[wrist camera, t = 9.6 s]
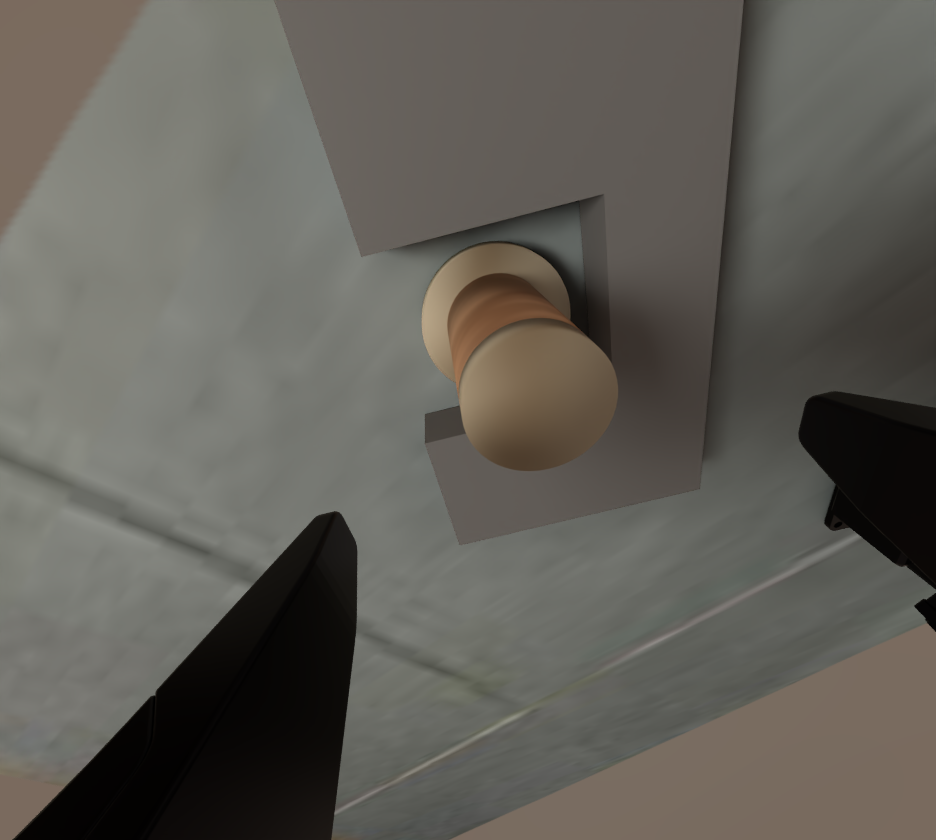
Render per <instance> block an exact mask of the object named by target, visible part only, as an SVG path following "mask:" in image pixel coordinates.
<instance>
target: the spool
mask: <svg viewBox="0 0 936 840" xmlns="http://www.w3.org/2000/svg"><path fill="white" fill-rule="evenodd" d="M570 318H571V313H570V302H569V296H568V293H567V290H566V287H565V285H564V283H563V281H562V279H561V277H560V276H559V274H558V273H557V271H556V270H555V269H554V268H553V267H552V266H551V264H550V263H548V262H547V261H546V260H545V259H544V258H542V257H541V256H539V255H538V254H536V253H534V252H533V251H531V250H529V249H528V248H525V247H523V246H521V245H518V244H514V243H510V242H503V241H489V242H483V243H478V244H475V245H472V246H469V247H467V248H465V249H463V250H461V251H459V252H458V253H456V254H455V255H453V256H452V257H451V258H449V259H448V260H447V261H446V262H445V263H444V264H443V265H442V266H441V267H440V269H439V270H438V271H437V272H436V274H435V275H434V277H433V278H432V280H431V282H430V284H429V286H428V288H427V291H426V294H425V297H424V302H423V307H422V332H423V338H424V342H425V346H426V348H427V351H428V353H429V355H430V357H431V359H432V361H433V362H434V363H435V365H436V366H437V368H438V369H439V370H440V371H441V372H442V373H443V374H444V375H445V376H447V377H448V378H449V379H450V380H452V381H453V382H455V383H456V385H457V391H458V397H459V403H460V410H461V416H462V421H463V426H464V429H465V432H466V435H467V436H468V438H469V440H470V442H471V443H472V445H473V446H474V447H475V449H476V450H477V451H478V452H479V453H480V454H481V455H483V456H484V457H485V458H487V459H488V460H490V461H491V462H493V463H495V464H497V465H499V466H502V467H505V468H508V469H512V470H519V471H540V470H546V469H551V468H554V467H557V466H560V465H563V464H565V463H568V462H570V461H571V460H573V459H575V458H577V457H578V456H580V455H581V454H583V453H584V452H586V451H587V450H588V449H589V448H591V447H592V446H593V445H594V444H595V443H596V442H597V441H598V440H599V438H600V437H601V436H602V435H603V433H604V432H605V430H606V429H607V427H608V426H609V424H610V422H611V420H612V417H613V415H614V412H615V409H616V405H617V400H618V383H617V377H616V373H615V370H614V368H613V366H612V364H611V362H610V360H609V359H608V357H607V356H606V354H605V353H604V352H603V351H602V350H601V349H600V348H599V347H598V346H597V345H596V344H595V343H594V342H593V341H592V340H590V339H589V338H588V337H587V336H586V335H585V334H584V333H583V332H582V331H581V330H580V329H579V328H577V327H576V326H575V325H574V324H573V323H572V322H571V321H570Z"/></svg>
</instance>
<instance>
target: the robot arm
mask: <svg viewBox="0 0 936 840" xmlns="http://www.w3.org/2000/svg"><path fill="white" fill-rule="evenodd" d="M799 440H800V442H801V444H802V446H803V447H804V448H805V450H806V451H807V452H808V453H809V454H810V455H811V456H812V458H813V459H814V460H815V461H816V462H817V463H818V465H819V466H820V467H821V468H822V469H823V470H824V471H825V473H826V474H827V475H828V476H829V477H830V478H831V479H832V481H833V482H834V483H835V484H836V487H835V490H834V494H833V497H832V500H831V503H830V506H829V510H828V513H827V516H826V519H825V525H826V526H827V527H828V528H829V529H830V530H833V531H836V530H840V529H845V528H849V527H850V528H851V529H852V530H853V531H855V532H856V533H857V534H858V535H860V536H861V537H862V538H863V539H865V540H866V541H867V542H868V543H870V544H871V545H872V546H873V547H875V548H876V549H877V550H878V551H880V552H881V553H882V554H883V555H885V556H886V557H887V558H888V559H890V560H891V561H892V562H893V563H895V564H896V565H898V566H901V567H903V566H907V567H908V568H909V569H910V570H912V571H913V572H914V573H916V574H917V575H918V576H919V577H921V578H922V579H923V580H924V581H926V582H927V583H928V584H929V585H931V586H932V587H933V588H935V589H936V408H934V407H928V406H922V405H916V404H910V403H904V402H898V401H892V400H886V399H880V398H874V397H868V396H862V395H856V394H850V393H844V392H838V391H834V392H828V393H823V394H819V395H815V396H812V397H811V398H809V399H808V400H807V402H806V404H805V407H804V411H803V416H802V420H801V424H800V428H799ZM914 607H915V608H916V609H917V610H918V611H919V612H920V613H921V614H922V615H923V616H924V617H925V618H926V619H925V620H926V621H927V623H928V624H929V625H930V626H931V627H932V628H933V629H934V630H935V632H936V593H935V594H934V595H932V596H931V597H929V598H928V599H927V600H926V599H922V600H921V601H920V602H918V603H917V604H916V605H914ZM356 623H357V545H356V542H355V539H354V537H353V535H352V533H351V531H350V529H349V528H348V526H347V524H346V522H345V520H344V518H343V516H342V515H341V514H340V513H339V512H336V511H334V512H330V513H326V514H321V515H318V516H316V517H315V518H314V519H313V520H312V521H311V522H310V524H309V525H308V526H307V527H306V528H305V529H304V530H303V531H302V532H301V533H300V534H299V535H298V537H297V538H296V539H295V540H294V541H293V542H292V543H291V544H290V545H289V546H288V547H287V549H286V550H285V551H284V552H283V553H282V554H281V555H280V556H279V557H278V558H277V559H276V561H275V562H274V563H273V564H272V565H271V566H270V567H269V568H268V569H267V570H266V571H265V573H264V574H263V575H262V576H261V577H260V578H259V579H258V580H257V581H256V582H255V583H254V585H253V586H252V587H251V588H250V589H249V590H248V591H247V592H246V593H245V594H244V595H243V597H242V598H241V599H240V600H239V601H238V602H237V603H236V604H235V605H234V606H233V607H232V609H231V610H230V611H229V612H228V613H227V614H226V615H225V616H224V617H223V618H222V619H221V620H220V622H219V623H218V624H217V625H216V626H215V627H214V628H213V629H212V630H211V631H210V632H209V634H208V635H207V636H206V637H205V638H204V639H203V640H202V641H201V642H200V643H199V644H198V645H197V647H196V648H195V649H194V650H193V651H192V652H191V653H190V654H189V655H188V656H187V657H186V659H185V660H184V661H183V662H182V663H181V664H180V665H179V666H178V667H177V668H176V669H175V671H174V672H173V673H172V674H171V675H170V676H169V677H168V678H167V679H166V680H165V681H164V682H163V684H162V685H161V686H160V687H159V688H158V689H157V690H156V694H155V695H154V696H151V697H150V698H149V699H148V700H147V701H146V702H145V703H144V704H143V705H142V706H141V707H140V709H139V710H138V711H137V712H136V713H135V714H134V715H133V716H132V717H131V718H130V719H129V720H128V722H127V723H126V724H125V725H124V726H123V727H122V728H121V729H120V730H119V731H118V732H117V733H116V734H115V735H114V736H113V738H112V739H111V740H110V741H109V742H108V743H107V744H106V745H105V746H104V747H103V748H102V749H101V750H100V751H99V752H98V753H97V755H96V756H95V757H94V758H93V759H92V760H91V761H90V762H89V763H88V764H87V765H86V766H85V767H84V768H83V769H82V770H81V771H80V772H79V773H78V774H77V775H76V776H75V777H74V778H73V779H72V780H71V781H70V782H69V783H68V784H67V785H66V786H65V788H64V789H63V790H62V791H61V792H60V793H59V794H58V795H57V796H56V797H55V798H54V799H53V800H52V801H51V802H50V803H49V804H48V805H47V806H46V807H45V808H44V809H43V810H42V811H41V812H40V813H39V814H38V815H37V816H36V817H35V818H34V819H33V820H32V821H31V822H30V823H29V824H28V825H27V826H26V827H25V828H24V829H23V830H22V831H21V832H20V833H19V834H18V835H17V836H16V837H15V838H14V839H13V840H331V837H332V829H333V821H334V812H335V804H336V796H337V787H338V779H339V771H340V762H341V754H342V746H343V737H344V729H345V721H346V712H347V704H348V696H349V687H350V679H351V671H352V662H353V654H354V646H355V636H356Z"/></svg>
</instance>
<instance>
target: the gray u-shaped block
mask: <svg viewBox="0 0 936 840" xmlns="http://www.w3.org/2000/svg"><path fill="white" fill-rule="evenodd" d="M274 1H275V4H276V7H277V10H278V13H279V16H280V19H281V22H282V25H283V28H284V31H285V34H286V37H287V40H288V43H289V45H290V48H291V51H292V54H293V57H294V60H295V63H296V66H297V69H298V72H299V75H300V78H301V81H302V84H303V87H304V90H305V92H306V95H307V98H308V101H309V104H310V107H311V110H312V113H313V116H314V119H315V122H316V125H317V128H318V131H319V134H320V137H321V139H322V142H323V145H324V148H325V151H326V154H327V157H328V160H329V163H330V166H331V169H332V172H333V175H334V178H335V181H336V183H337V186H338V189H339V192H340V195H341V198H342V201H343V204H344V207H345V210H346V213H347V216H348V219H349V222H350V225H351V228H352V230H353V233H354V236H355V239H356V242H357V245H358V248H359V251H360V254H361V257H363V256H367V255H371V254H375V253H378V252H382V251H386V250H390V249H394V248H398V247H402V246H405V245H409V244H413V243H417V242H421V241H425V240H428V239H432V238H436V237H440V236H444V235H448V234H452V233H455V232H459V231H463V230H467V229H471V228H475V227H478V226H482V225H486V224H490V223H494V222H498V221H502V220H505V219H509V218H513V217H517V216H521V215H525V214H528V213H532V212H536V211H540V210H544V209H548V208H552V207H555V206H559V205H563V204H567V203H571V202H575V201H578V200H579V207H580V221H581V234H582V248H583V261H584V274H585V288H586V301H587V314H588V328H589V339H590V340H592V341H593V342H594V343H595V344H596V345H597V346H598V347H599V348H600V349H601V350H602V351H603V352H604V353H605V354H606V356H607V357H608V359H609V360H610V362H611V364H612V366H613V368H614V370H615V373H616V377H617V383H618V400H617V405H616V409H615V412H614V415H613V417H612V420H611V422H610V424H609V426H608V427H607V429H606V430H605V432H604V433H603V435H602V436H601V437H600V438H599V440H598V441H597V442H596V443H595V444H594V445H593V446H592V447H591V448H589V449H588V450H587V451H586V452H584V453H583V454H581V455H580V456H578V457H577V458H575V459H573V460H571V461H570V462H568V463H565V464H563V465H560V466H557V467H554V468H551V469H546V470H540V471H519V470H512V469H508V468H505V467H502V466H499V465H497V464H495V463H493V462H491V461H490V460H488V459H487V458H485V457H484V456H483V455H481V454H480V453H479V452H478V451H477V450H476V449H475V447H474V446H473V445H472V443H471V442H470V440H469V438H468V436H467V435H466V432H465V429H464V426H463V421H462V416H461V410H460V406H457V407H453V408H449V409H445V410H441V411H437V412H433V413H429V414H425V445H426V448H427V451H428V454H429V457H430V460H431V463H432V465H433V468H434V471H435V474H436V477H437V480H438V483H439V486H440V489H441V492H442V495H443V498H444V501H445V504H446V507H447V510H448V512H449V515H450V518H451V521H452V524H453V527H454V530H455V533H456V536H457V539H458V542H459V545H463V544H468V543H472V542H476V541H480V540H485V539H489V538H493V537H497V536H502V535H506V534H510V533H514V532H519V531H523V530H527V529H531V528H536V527H540V526H544V525H548V524H553V523H557V522H561V521H566V520H570V519H574V518H578V517H583V516H587V515H591V514H595V513H600V512H604V511H608V510H612V509H617V508H621V507H625V506H629V505H634V504H638V503H642V502H646V501H651V500H655V499H659V498H663V497H668V496H672V495H676V494H680V493H685V492H689V491H693V490H697V489H700V480H701V469H702V458H703V447H704V436H705V425H706V414H707V403H708V392H709V380H710V369H711V358H712V347H713V336H714V325H715V314H716V303H717V292H718V280H719V269H720V258H721V247H722V236H723V225H724V214H725V203H726V192H727V180H728V169H729V158H730V147H731V136H732V125H733V114H734V103H735V92H736V80H737V69H738V58H739V47H740V36H741V25H742V14H743V3H744V0H274Z"/></svg>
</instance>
